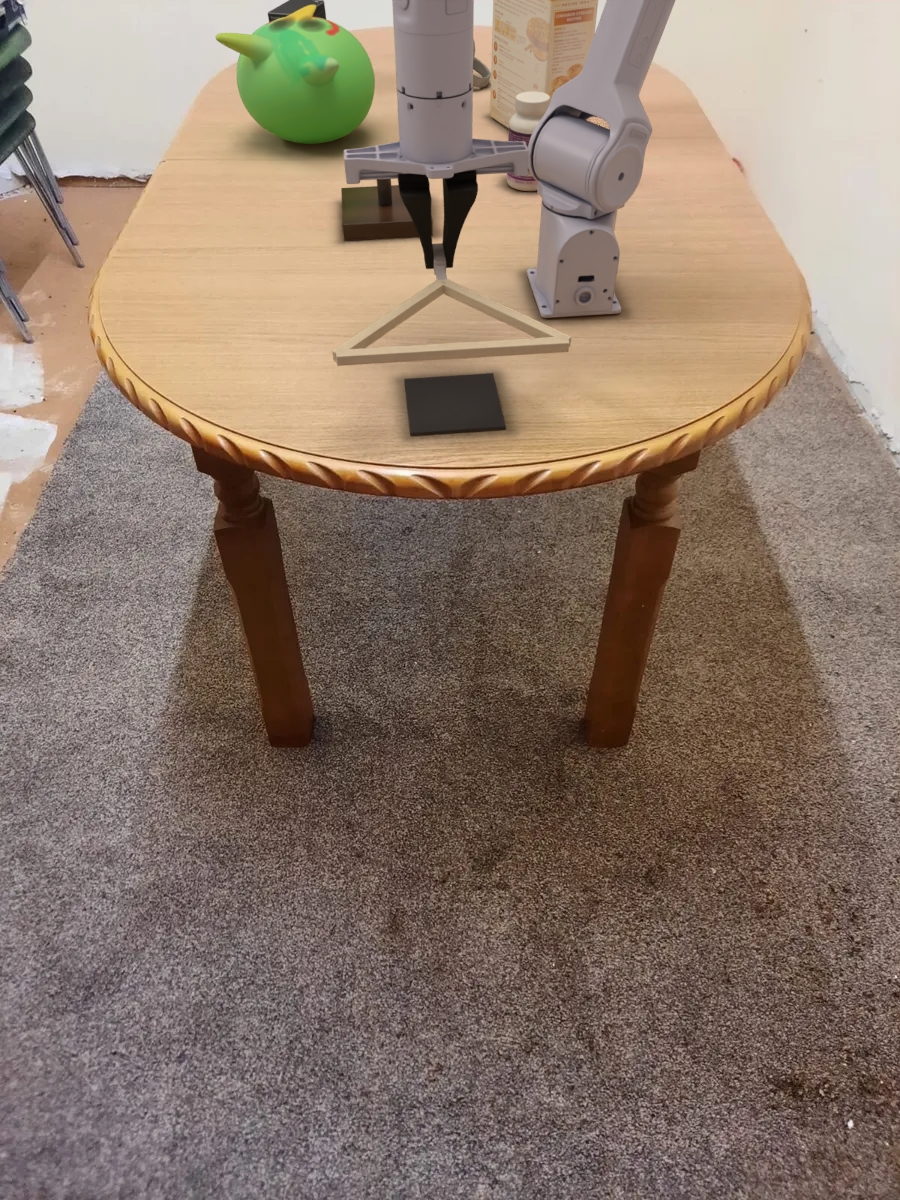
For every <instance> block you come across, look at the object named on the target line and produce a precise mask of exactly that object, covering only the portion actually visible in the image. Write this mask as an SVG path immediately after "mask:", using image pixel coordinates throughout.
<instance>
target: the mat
mask: <svg viewBox="0 0 900 1200" xmlns="http://www.w3.org/2000/svg"><path fill="white" fill-rule="evenodd" d="M494 375H495V374H494V372H488V373H487V372H486V373H474V374H473V373H471V374H457V375H443V376H442V375H441V376H427V377H426V376H425V377H409V378H404V389H405V399H406V407H407V416H408V424H409V434H410V436H426V435H427V436H428V435H442V434H453V433H469V432H483V431H498V430H506V429H507V425H506V421H505V417H504V413H503V409H502V405H501V401H500V396H499V392H498V388H497V384H496V380H495V376H494Z"/></svg>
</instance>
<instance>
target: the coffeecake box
mask: <svg viewBox="0 0 900 1200" xmlns="http://www.w3.org/2000/svg"><path fill="white" fill-rule="evenodd" d="M598 6H599V0H492V30H491V37H492V38H491V63H490V64H491V67H490V69H491V71H490V72H491V77H490V101H489V103H490V104H489V117H491V118H492V119H494V120H495V121H497V122H498V123H499V124H501V125H503V126H504V127H505V128H507V129H509V121H510V119H511V117H512V116H513V115H514V114H515V113H517V111H516V108H515V102H516V96H517V95H518V94H520V93H523V92H542V93H545V94H547V95H549V96H550V101H551V98H552V95H553V93H554V91H555V90H557V89H558V88H559V87H561V86H562V85H564V84H565V83H567V82H568V81H570V80H572V79H573V78H575V77H576V76H578V75H579V74H580V73H581V72H582V69H583V66H584V63H585V61H586V58H587V55H588V52H589V49H590V46H591V44H592V41H593V38H594V35H595V32H596V28H597V16H598Z"/></svg>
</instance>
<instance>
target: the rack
mask: <svg viewBox="0 0 900 1200" xmlns="http://www.w3.org/2000/svg"><path fill="white" fill-rule="evenodd" d="M340 189H341V224H342V233H343V241H344V242H346V241H364V240H381V239H399V238H401V239H402V238H416V237H418V238H419V236H418V233H417V230H416V228H415V225H414V223H413V221H412V219H411V217H410V215H409V213H408V211H407V209H406V207H405V205H404V203H403V201H402V199H401V196H400V192H399V185H398V184H393V185H392V179H376V185H374V186H373V185H371V186H354V187H353V186H352V187H341V188H340ZM433 230H434V229H433V217H432V215H431V235H432V237H433V235H434V233H433V232H434V231H433Z"/></svg>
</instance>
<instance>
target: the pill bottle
mask: <svg viewBox="0 0 900 1200" xmlns="http://www.w3.org/2000/svg"><path fill="white" fill-rule="evenodd" d="M549 104H550V96H549V95H547V94H545V93H542V92H523V93H520V94H518V95H517V96H516V102H515V108H516V111H517V113H515V114H514V115H513V116H512V117H511V119H510V121H509V128H508V134H507V135H508V137H507V138H508V139H507V141H525V143H526V145H527V147H528V145H529V141H530V138H531V135H532V133H533V131H534V129H535V127H536V126H537V124H538V123H539V121H540V120H541V119H542V117H543V116H544V114H545V113H546V111H547V109H548V107H549ZM506 183H507V185H508V186H509V187H510V188H512V189H514V190H518V191H523V192H534V191H535V192H536V191H537V190H538V181H536V180H535V179H534V178H533V177H532V175H531V174H530V172H529V169H528V173H527V176H515V175H514V174H513V173H506Z"/></svg>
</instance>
